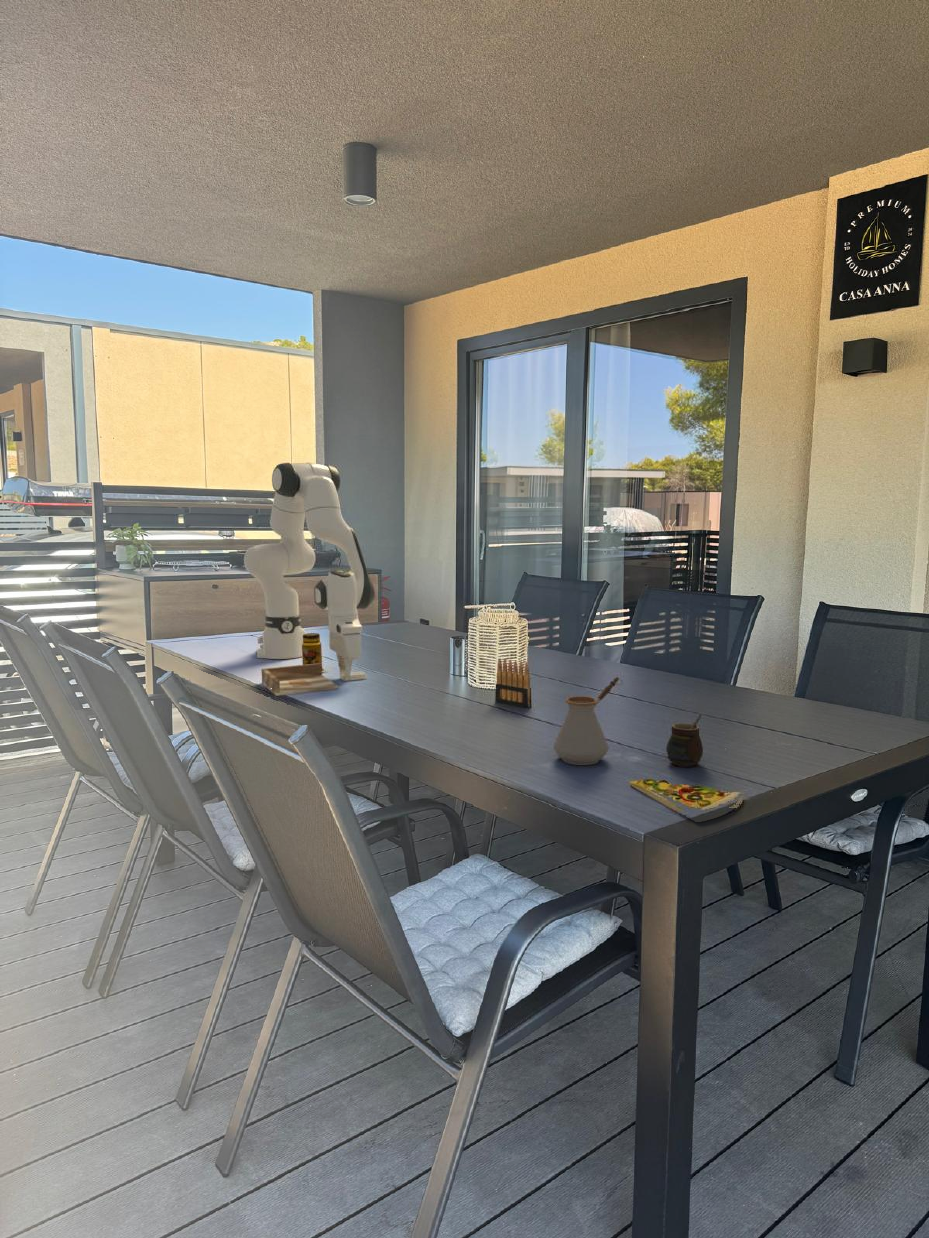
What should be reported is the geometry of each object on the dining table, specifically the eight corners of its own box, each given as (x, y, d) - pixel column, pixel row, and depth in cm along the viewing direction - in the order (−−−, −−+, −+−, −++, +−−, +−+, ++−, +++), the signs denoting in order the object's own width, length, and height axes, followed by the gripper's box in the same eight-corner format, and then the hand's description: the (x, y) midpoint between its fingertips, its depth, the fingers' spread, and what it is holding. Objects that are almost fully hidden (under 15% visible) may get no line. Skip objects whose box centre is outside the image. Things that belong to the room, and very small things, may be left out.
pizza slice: (706, 828, 142) (706, 811, 141) (605, 797, 156) (606, 782, 156) (751, 804, 152) (751, 788, 152) (653, 777, 167) (653, 763, 166)
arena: (262, 682, 251) (261, 668, 251) (321, 676, 259) (320, 663, 258) (275, 695, 235) (275, 680, 235) (338, 688, 243) (337, 674, 242)
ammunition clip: (494, 702, 226) (494, 658, 224) (499, 700, 227) (498, 657, 225) (527, 708, 219) (527, 663, 217) (531, 706, 220) (531, 661, 219)
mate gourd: (658, 762, 174) (659, 715, 173) (682, 756, 179) (684, 710, 177) (685, 771, 169) (687, 722, 167) (710, 764, 173) (712, 717, 171)
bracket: (344, 681, 253) (343, 659, 252) (339, 678, 257) (339, 657, 256) (366, 678, 255) (365, 657, 255) (361, 675, 260) (361, 655, 259)
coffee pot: (589, 772, 169) (590, 699, 167) (542, 760, 176) (542, 690, 174) (641, 746, 185) (642, 680, 183) (595, 737, 192) (596, 673, 190)
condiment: (305, 674, 262) (303, 636, 261) (297, 669, 270) (295, 632, 268) (327, 672, 266) (326, 634, 264) (319, 667, 273) (317, 630, 271)
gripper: (323, 620, 260) (325, 664, 262) (343, 629, 242) (344, 676, 244) (343, 618, 263) (344, 662, 265) (364, 627, 245) (365, 674, 247)
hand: (344, 669), depth 254 cm, fingers closed on bracket, 4 cm apart
